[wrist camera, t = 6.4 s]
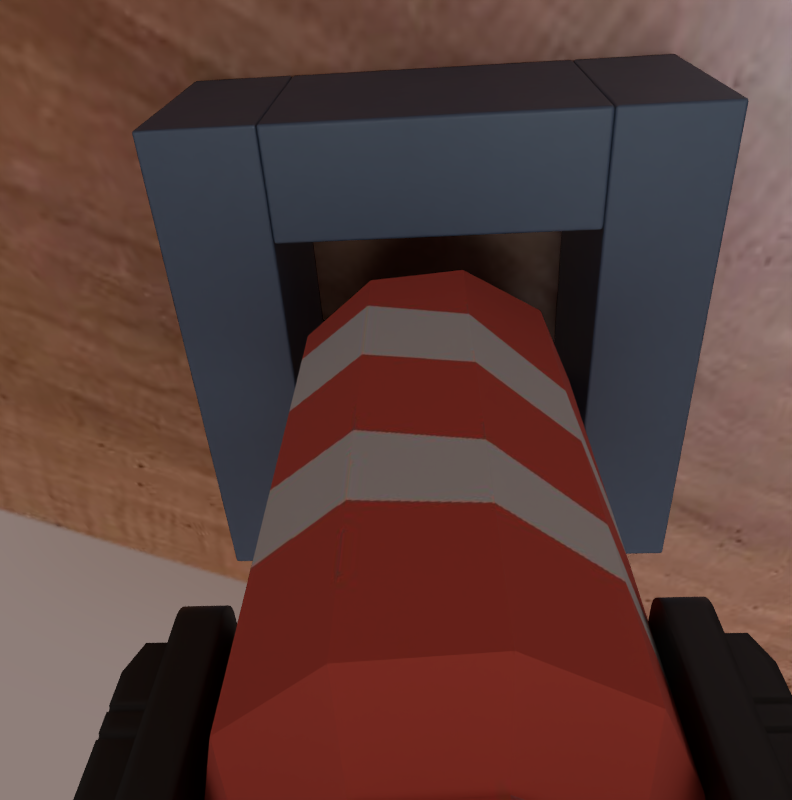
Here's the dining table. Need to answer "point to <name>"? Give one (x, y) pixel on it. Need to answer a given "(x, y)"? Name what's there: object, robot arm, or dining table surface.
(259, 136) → the holder
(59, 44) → the dining table surface
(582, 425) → the beverage can
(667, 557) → the dining table surface
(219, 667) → the robot arm
